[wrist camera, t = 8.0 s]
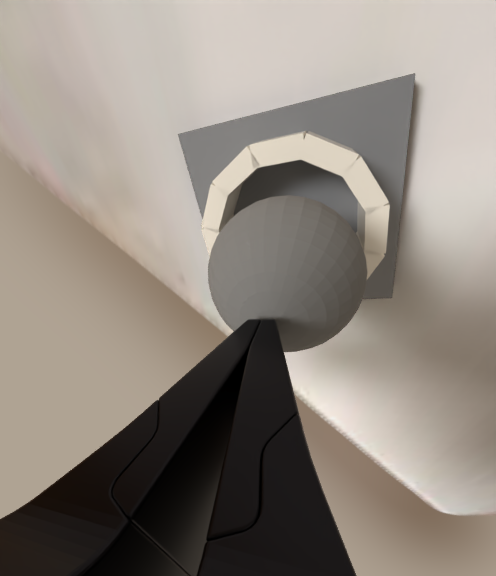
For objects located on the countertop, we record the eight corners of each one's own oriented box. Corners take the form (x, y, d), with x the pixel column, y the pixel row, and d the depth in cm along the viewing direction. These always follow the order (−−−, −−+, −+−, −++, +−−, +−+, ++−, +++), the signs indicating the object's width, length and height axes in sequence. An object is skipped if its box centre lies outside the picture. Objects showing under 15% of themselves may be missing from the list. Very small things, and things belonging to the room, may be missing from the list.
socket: (408, 76, 12) (441, 59, 9) (388, 289, 18) (403, 327, 15) (185, 133, 16) (149, 136, 12) (230, 296, 22) (214, 327, 18)
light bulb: (340, 264, 17) (359, 401, 9) (251, 258, 18) (196, 373, 10) (357, 164, 14) (413, 235, 5) (247, 166, 15) (160, 225, 7)
